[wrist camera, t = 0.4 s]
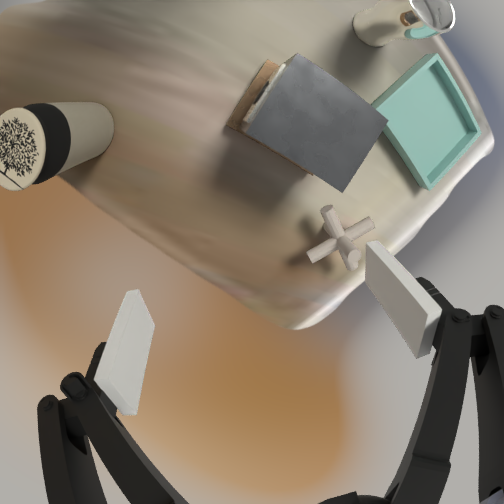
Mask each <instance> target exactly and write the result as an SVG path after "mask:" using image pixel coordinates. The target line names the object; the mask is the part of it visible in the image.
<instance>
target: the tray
mask: <svg viewBox="0 0 504 504" xmlns="http://www.w3.org/2000/svg"><path fill="white" fill-rule="evenodd" d="M371 106H372V107H373V108H375V109H376V110H377V111H378V112H379V113H381V114H382V115H383V116H384V117H385V118H386V119H388V120H389V121H388V122H387V124H386V126H385V127H384V129H383V132H384V134H385V135H386V136H387V138H388V139H389V141H390V142H391V143H392V145H393V146H394V148H395V149H396V151H397V152H398V154H399V155H400V156H401V158H402V159H403V161H404V162H405V164H406V166H407V167H408V169H409V170H410V172H411V173H412V175H413V176H414V178H415V180H416V181H417V183H418V185H419V186H421V187H423V188H425V189H427V190H429V191H430V190H431V189H432V188H433V187H434V186H435V185H436V184H437V183H438V182H439V181H440V180H441V178H442V177H443V176H444V175H445V174H446V173H447V172H448V171H449V170H450V169H451V168H452V166H453V165H454V164H455V163H456V162H457V161H458V160H459V159H460V158H461V156H462V155H463V154H464V153H465V152H466V151H467V150H468V148H469V147H470V146H471V145H472V144H473V143H474V142H475V140H476V139H477V138H478V137H479V136H480V134H481V130H480V128H479V126H478V124H477V122H476V120H475V118H474V116H473V114H472V112H471V110H470V108H469V106H468V104H467V102H466V100H465V98H464V96H463V94H462V93H461V91H460V89H459V87H458V85H457V84H456V82H455V80H454V79H453V77H452V75H451V74H450V72H449V70H448V69H447V67H446V65H445V64H444V62H443V61H442V59H441V58H440V56H439V55H438V53H433V54H426V55H425V56H424V57H423V58H422V59H420V60H419V61H418V62H417V63H416V64H415V65H414V66H413V67H411V68H410V69H409V70H408V71H407V72H406V73H405V74H404V75H402V76H401V77H400V78H399V79H398V80H397V81H396V82H395V83H394V84H393V85H391V86H390V87H389V88H388V89H387V90H386V91H385V92H384V93H383V94H382V95H380V96H379V97H378V98H377V99H376V100H375V101H374V102H373V103H372V104H371Z"/></svg>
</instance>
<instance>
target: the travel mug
mask: <svg viewBox="0 0 504 504" xmlns="http://www.w3.org/2000/svg"><path fill="white" fill-rule="evenodd" d="M113 134H114V122H113V118H112V116H111V114H110V112H109V111H108V109H107V108H106V107H104V106H103V105H101V104H99V103H96V102H60V103H39V104H30V105H27V106H25V107H23V108H13V109H10V110H8V111H6V112H5V113H3V114H2V115H1V116H0V185H1V186H2V187H4V188H5V189H8V190H11V191H20V190H23V189H25V188H27V187H29V186H30V185H31V184H39V183H42V182H44V181H46V180H48V179H50V178H52V177H53V176H55V175H57V174H59V173H62V172H64V171H66V170H68V169H70V168H72V167H74V166H76V165H78V164H80V163H83V162H85V161H87V160H89V159H92V158H94V157H96V156H98V155H100V154H101V153H103V152H104V151H105V150H106V149H107V147H108V146H109V144H110V143H111V140H112V138H113Z"/></svg>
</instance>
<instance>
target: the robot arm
mask: <svg viewBox="0 0 504 504" xmlns="http://www.w3.org/2000/svg"><path fill="white" fill-rule="evenodd" d="M365 283H366V284H367V286H368V287H369V288H370V290H371V291H372V293H373V294H374V296H375V297H376V299H377V300H378V301H379V303H380V304H381V305H382V307H383V309H384V310H385V312H386V313H387V315H388V316H389V318H390V319H391V320H392V322H393V323H394V325H395V326H396V328H397V329H398V331H399V332H400V334H401V336H402V337H403V339H404V340H405V342H406V343H407V345H408V346H409V348H410V349H411V351H412V353H413V354H414V356H415V357H416V359H417V358H419V357H422V356H425V355H427V354H429V353H430V351H431V347H432V345H433V346H434V348H435V349H436V353H435V356H434V358H433V361H432V364H431V365H432V369H431V373H430V377H429V381H428V385H427V388H426V393H425V396H424V399H423V402H422V406H421V409H420V412H419V415H418V419H417V422H416V424H415V427H414V430H413V433H412V436H411V438H410V441H409V444H408V447H407V449H406V452H405V454H404V457H403V459H402V462H401V464H400V466H399V469H398V471H397V474H396V476H395V478H394V479H393V481H392V483H391V485H390V487H389V488H388V490H387V492H386V494H385V497H384V498H381V497H377V496H371V495H357V493H356V491H355V492H351V493H348V494H345V495H341V496H337V497H334V498H330V499H327V500H325V501H323V502H321V503H319V504H438V503H439V500H440V498H441V495H442V492H443V490H444V487H445V484H446V481H447V478H448V475H449V472H450V468H451V463H450V462H449V459H450V455H451V452H452V448H453V444H454V441H455V437H456V433H457V429H458V424H459V420H460V415H461V410H462V405H463V400H464V394H465V388H466V382H467V375H468V367H469V359H470V357H471V362H472V368H473V375H474V383H475V390H476V400H477V412H478V427H479V490H478V492H479V504H504V309H503V308H502V307H500V306H498V305H489V306H488V307H487V308H486V309H485V311H484V314H482V315H470V313H468V312H467V311H466V310H463V309H457V308H454V307H453V306H452V305H451V304H450V303H449V302H448V300H446V298H445V297H444V296H443V295H442V294H441V293H440V292H439V291H438V290H437V289H436V288H435V287H434V285H432V283H431V282H430V281H428V280H426V279H424V278H422V277H419V278H416V279H415V278H413V276H412V275H411V274H410V273H409V272H408V271H407V270H406V269H405V268H404V267H403V266H402V265H401V264H400V263H399V262H398V260H397V259H396V258H395V257H394V256H393V255H392V254H391V253H390V252H389V251H388V250H387V249H386V248H385V247H384V246H383V245H382V244H381V243H380V242H379V241H378V240H376V241H372V242H367V243H366V272H365ZM154 328H155V324H154V322H153V320H152V318H151V316H150V313H149V312H148V309H147V307H146V305H145V302H144V300H143V298H142V296H141V293H140V291H139V289H136V290H132V291H127V293H126V295H125V297H124V300H123V302H122V305H121V307H120V309H119V312H118V314H117V317H116V320H115V322H114V325H113V327H112V330H111V332H110V335H109V338H108V341H107V342H101V344H100V345H99V346H98V347H97V348H96V350H95V352H94V355H93V358H92V360H91V364H90V366H89V368H88V371H87V374H86V377H85V378H84V376H83V375H82V374H81V373H79V372H72V373H70V374H68V375H67V376H66V377H64V379H63V380H62V382H61V385H60V389H61V391H62V392H63V393H64V394H65V396H66V397H67V398H66V399H62V400H58V399H57V398H56V397H55V396H54V395H47V396H45V397H43V398H42V399H41V401H40V402H39V404H38V407H37V415H38V432H39V444H40V453H41V461H42V469H43V475H44V480H45V486H46V492H47V497H48V502H49V504H107V501H106V498H105V496H104V493H103V489H102V487H101V483H100V480H99V477H98V474H97V470H96V467H95V463H94V459H93V456H92V452H91V448H90V444H89V440H88V437H89V439H90V441H91V443H92V444H93V446H94V448H95V450H96V452H97V453H98V455H99V457H100V458H101V460H102V462H103V463H104V465H105V466H106V468H107V469H108V471H109V473H110V474H111V476H112V477H113V479H114V480H115V482H116V483H117V485H118V486H119V488H120V489H121V491H122V492H123V494H124V495H125V496H126V498H127V499H128V501H129V502H130V503H131V504H189V503H188V502H187V501H186V500H185V499H184V498H183V497H182V496H181V495H180V494H179V493H178V492H177V491H176V490H175V489H174V488H173V487H172V485H171V484H170V483H169V482H168V481H167V480H166V479H165V477H164V476H163V475H162V474H161V473H160V472H159V471H158V469H157V468H156V467H155V466H154V465H153V464H152V462H151V461H150V460H149V459H148V457H147V456H146V455H145V453H144V452H143V451H142V450H141V448H140V447H139V446H138V444H136V442H135V441H134V439H133V438H132V437H131V435H130V434H129V432H128V431H127V430H126V428H125V427H124V425H123V424H122V423H121V421H120V420H119V418H118V417H117V416H116V412H117V409H118V410H119V411H120V412H121V414H122V415H137V411H138V405H139V399H140V394H141V389H142V384H143V379H144V373H145V369H146V363H147V359H148V354H149V350H150V345H151V341H152V336H153V332H154Z"/></svg>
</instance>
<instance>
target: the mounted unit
mask: <svg viewBox="0 0 504 504" xmlns="http://www.w3.org/2000/svg"><path fill="white" fill-rule="evenodd" d="M388 121H389V120H388V119H386V118H385V117H384V116H383V115H382V114H381V113H379V112H378V111H377V110H376V109H375V108H373V107H372V106H371V105H370V104H369V103H367V102H366V101H365V100H364V99H362V98H361V97H360V96H358V95H357V94H356V93H355V92H353V91H352V90H351V89H349V88H348V87H347V86H345V85H344V84H343V83H341V82H340V81H339V80H337V79H336V78H334V77H333V76H332V75H330V74H329V73H327V72H326V71H324V70H323V69H321V68H320V67H318V66H317V65H315V64H314V63H312V62H311V61H309V60H308V59H306V58H305V57H303V56H302V55H300V54H298V53H297V54H295V55H294V56H292V57H291V58H290V59H288V60H287V61H286V62H284V63H283V64H282V65H280V66H278V65H276V64H275V63H273V62H271V61H269V60H267V61H266V62H265V63H264V65H263V66H262V68H261V69H260V71H259V72H258V74H257V75H256V77H255V78H254V80H253V82H252V83H251V85H250V86H249V88H248V89H247V91H246V93H245V94H244V96H243V97H242V99H241V101H240V102H239V104H238V105H237V107H236V109H235V110H234V112H233V114H232V115H231V117H230V118H229V120H228V122H227V123H226V125H227V126H229V127H231V128H232V129H234V130H236V131H238V132H240V133H242V134H243V135H245V136H247V137H249V138H251V139H252V140H254V141H256V142H258V143H259V144H261V145H263V146H265V147H266V148H268V149H270V150H272V151H273V152H275V153H277V154H278V155H280V156H282V157H283V158H285V159H287V160H288V161H290V162H292V163H293V164H295V165H296V166H298V167H300V168H301V169H303V170H304V171H306V172H308V173H309V174H311V175H312V176H313V174H314V175H316V176H317V177H319V178H321V179H322V180H324V181H325V182H327V183H328V184H330V185H331V186H333V187H334V188H336V189H337V190H339V191H340V192H342V193H343V191H344V190H345V188H346V187H347V185H348V184H349V182H350V181H351V179H352V178H353V176H354V175H355V173H356V171H357V170H358V168H359V167H360V165H361V164H362V162H363V161H364V159H365V157H366V156H367V154H368V153H369V151H370V150H371V148H372V146H373V145H374V143H375V142H376V140H377V139H378V137H379V135H380V134H381V132H382V131H383V129H384V127H385V126H386V124H387V122H388Z"/></svg>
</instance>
